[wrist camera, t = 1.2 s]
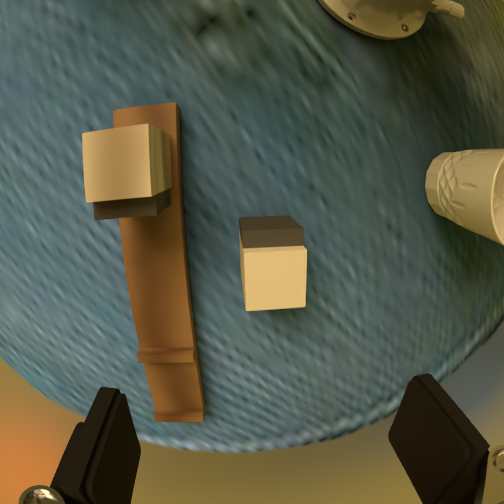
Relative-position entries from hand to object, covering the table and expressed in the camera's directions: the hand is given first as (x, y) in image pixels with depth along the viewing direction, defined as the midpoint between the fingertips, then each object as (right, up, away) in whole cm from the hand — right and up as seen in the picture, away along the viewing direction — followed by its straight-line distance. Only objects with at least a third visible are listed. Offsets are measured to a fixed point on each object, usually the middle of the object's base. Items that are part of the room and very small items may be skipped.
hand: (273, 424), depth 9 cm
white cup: (+19, +12, +18) cm, 29 cm away
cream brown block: (0, +5, +18) cm, 19 cm away
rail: (-9, +3, +18) cm, 20 cm away
